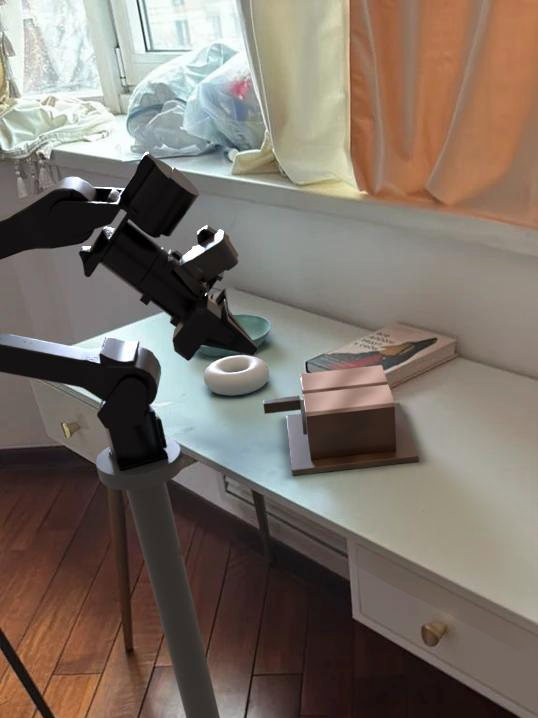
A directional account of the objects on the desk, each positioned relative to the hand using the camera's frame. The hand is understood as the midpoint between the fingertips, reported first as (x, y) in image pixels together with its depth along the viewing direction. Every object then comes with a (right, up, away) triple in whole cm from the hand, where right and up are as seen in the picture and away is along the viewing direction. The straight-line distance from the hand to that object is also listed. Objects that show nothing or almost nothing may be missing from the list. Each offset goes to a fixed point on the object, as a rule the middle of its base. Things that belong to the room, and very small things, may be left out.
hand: (255, 351), depth 105 cm
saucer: (-8, +13, +40) cm, 42 cm away
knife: (+9, -8, +7) cm, 14 cm away
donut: (-5, +2, +26) cm, 26 cm away
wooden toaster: (+12, -9, +8) cm, 17 cm away
